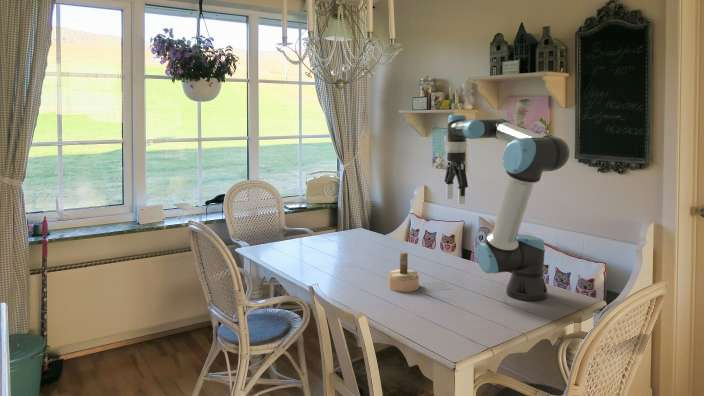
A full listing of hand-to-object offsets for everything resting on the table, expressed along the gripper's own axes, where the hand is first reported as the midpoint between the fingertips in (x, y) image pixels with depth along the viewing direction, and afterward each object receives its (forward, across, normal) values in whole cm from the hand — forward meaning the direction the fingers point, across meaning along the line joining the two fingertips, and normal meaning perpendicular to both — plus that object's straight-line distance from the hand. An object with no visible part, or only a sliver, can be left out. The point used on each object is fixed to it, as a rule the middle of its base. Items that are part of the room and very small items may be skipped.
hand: (455, 201), depth 226 cm
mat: (+33, -16, +14) cm, 39 cm away
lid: (+27, -14, +27) cm, 41 cm away
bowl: (+33, -14, +27) cm, 45 cm away
